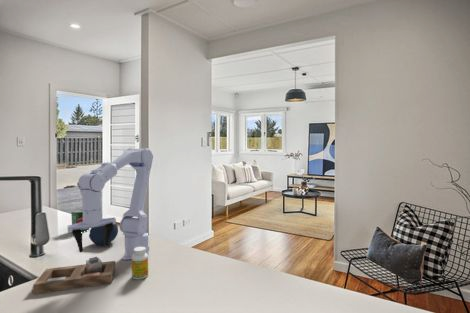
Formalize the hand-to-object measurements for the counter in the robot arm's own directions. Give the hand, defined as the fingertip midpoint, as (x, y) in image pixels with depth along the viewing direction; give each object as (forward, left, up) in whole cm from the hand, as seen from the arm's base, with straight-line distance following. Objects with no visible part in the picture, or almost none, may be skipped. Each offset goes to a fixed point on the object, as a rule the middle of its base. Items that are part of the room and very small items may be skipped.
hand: (93, 248), depth 95 cm
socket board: (+5, 0, -10) cm, 12 cm away
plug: (0, 0, -10) cm, 10 cm away
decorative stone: (+2, -34, -11) cm, 36 cm away
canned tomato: (+17, -58, -11) cm, 61 cm away
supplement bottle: (-15, +3, -11) cm, 19 cm away
